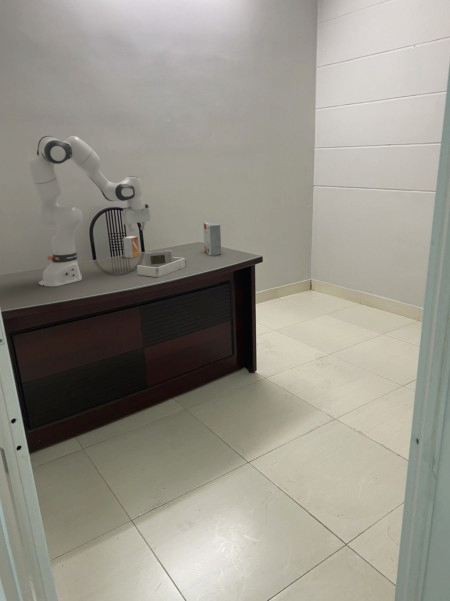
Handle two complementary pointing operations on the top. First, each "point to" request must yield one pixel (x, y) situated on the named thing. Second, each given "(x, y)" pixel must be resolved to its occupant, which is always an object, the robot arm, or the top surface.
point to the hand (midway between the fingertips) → (137, 230)
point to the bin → (162, 268)
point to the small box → (131, 246)
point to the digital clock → (158, 258)
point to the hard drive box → (212, 238)
